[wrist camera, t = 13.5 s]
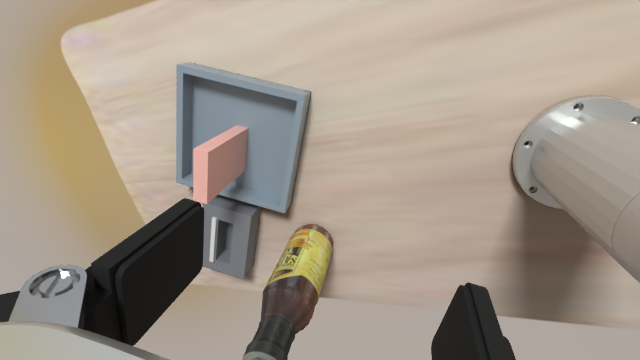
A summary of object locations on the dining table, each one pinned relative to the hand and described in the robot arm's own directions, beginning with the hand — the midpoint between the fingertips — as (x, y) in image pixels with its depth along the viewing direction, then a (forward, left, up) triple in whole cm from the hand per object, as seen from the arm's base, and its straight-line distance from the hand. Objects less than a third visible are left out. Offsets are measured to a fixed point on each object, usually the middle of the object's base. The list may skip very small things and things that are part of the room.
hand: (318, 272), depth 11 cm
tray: (+15, +7, -29) cm, 34 cm away
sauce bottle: (+3, +20, -30) cm, 36 cm away
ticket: (+15, +9, -29) cm, 33 cm away
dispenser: (+15, +22, -29) cm, 40 cm away
